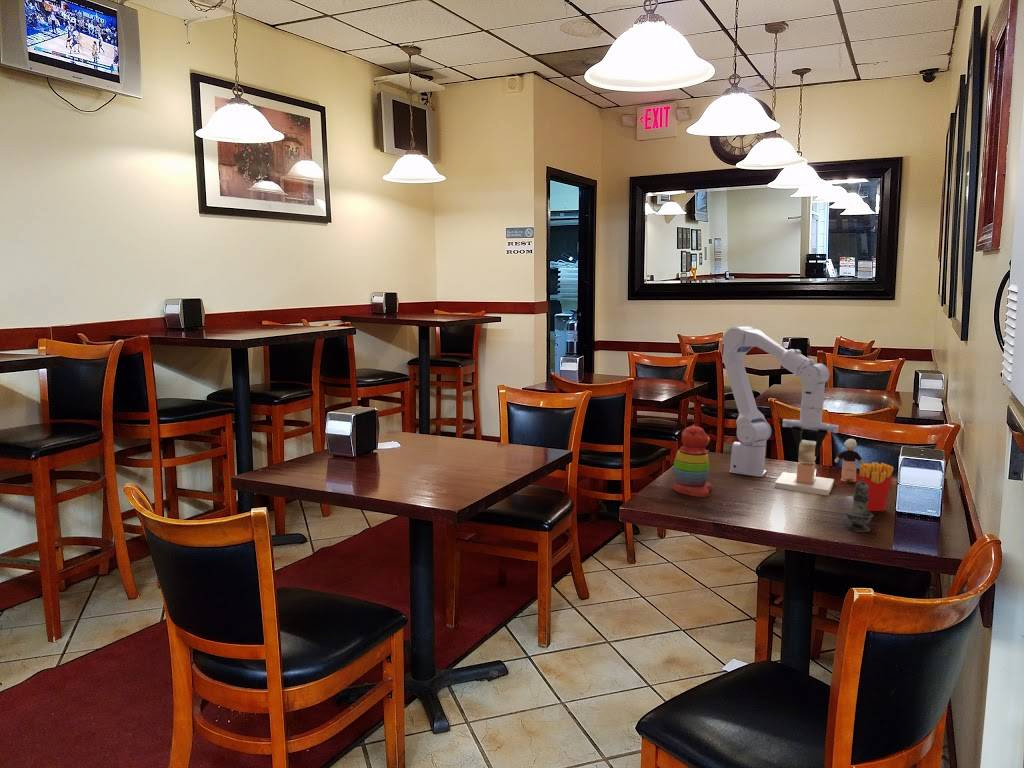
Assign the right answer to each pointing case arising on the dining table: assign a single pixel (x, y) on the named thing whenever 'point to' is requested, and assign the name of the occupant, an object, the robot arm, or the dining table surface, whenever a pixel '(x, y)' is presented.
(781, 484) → the tower plate
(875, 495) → the french fries
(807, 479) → the terracotta brick
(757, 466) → the robot arm
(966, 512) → the dining table surface
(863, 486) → the grey stone statuette
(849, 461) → the grandmother figurine
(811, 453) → the birch brick
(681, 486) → the stacking bear
